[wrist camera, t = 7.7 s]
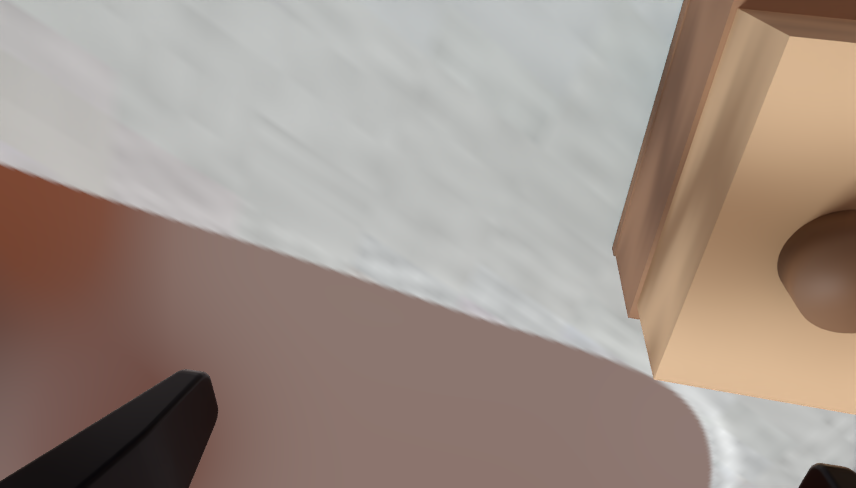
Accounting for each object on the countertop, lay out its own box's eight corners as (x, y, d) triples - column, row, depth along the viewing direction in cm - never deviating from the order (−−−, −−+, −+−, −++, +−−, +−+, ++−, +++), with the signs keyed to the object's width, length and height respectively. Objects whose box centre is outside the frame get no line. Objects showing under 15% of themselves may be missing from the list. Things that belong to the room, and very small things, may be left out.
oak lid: (821, 334, 16) (896, 453, 12) (636, 305, 16) (660, 410, 13) (995, 34, 11) (1186, 89, 8) (737, 8, 12) (814, 48, 8)
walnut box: (694, -38, 15) (738, -22, 12) (908, -19, 14) (1020, 4, 11) (612, 248, 20) (626, 318, 16) (769, 271, 19) (817, 349, 16)
